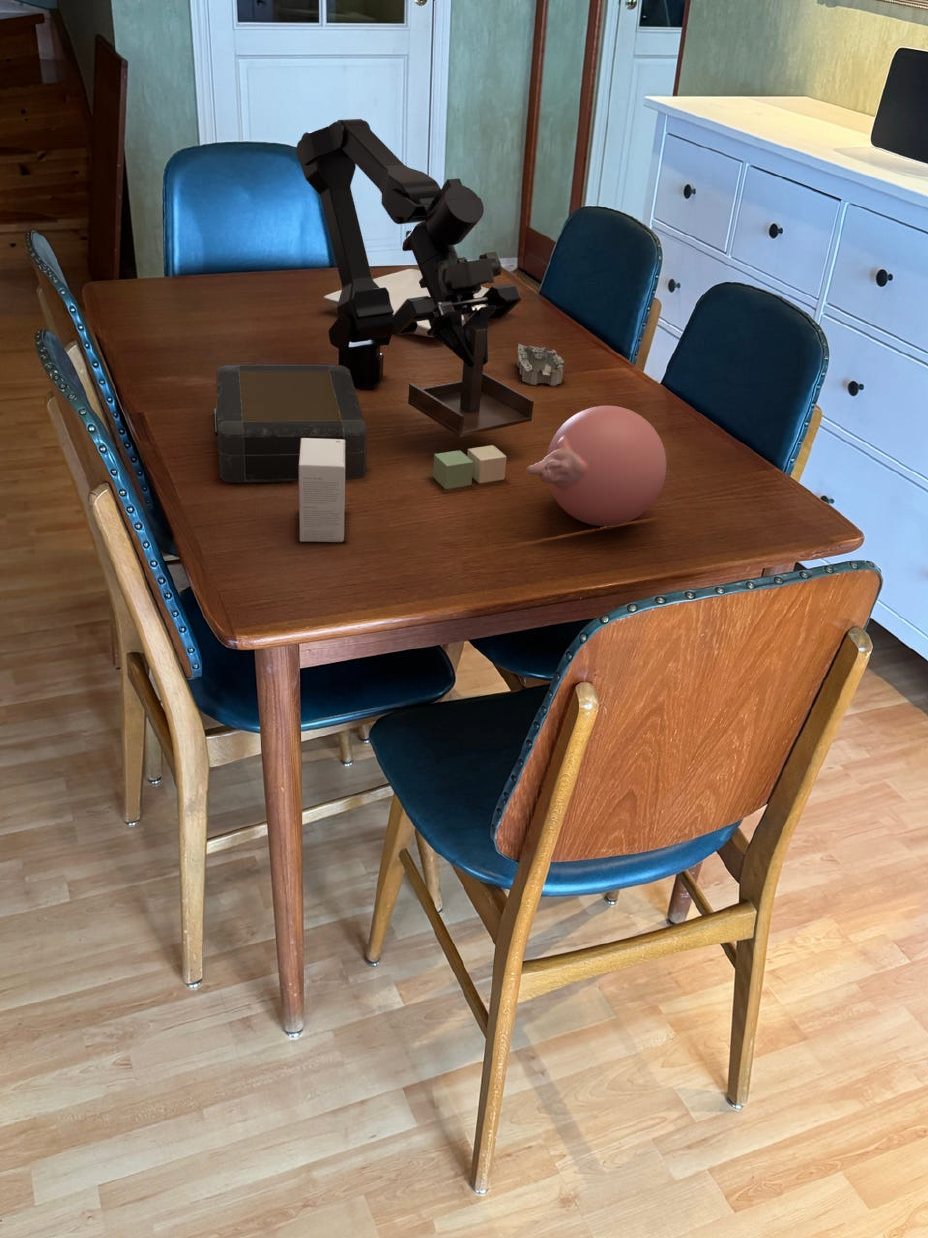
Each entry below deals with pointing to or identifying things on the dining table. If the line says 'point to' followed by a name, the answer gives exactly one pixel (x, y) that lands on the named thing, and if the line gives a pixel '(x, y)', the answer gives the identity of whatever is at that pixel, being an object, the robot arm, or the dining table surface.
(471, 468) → the sage block
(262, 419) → the cash box
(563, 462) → the balloon
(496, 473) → the cream block
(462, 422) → the brown tray with post
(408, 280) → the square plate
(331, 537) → the small box
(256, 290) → the dining table surface
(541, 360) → the grey castle model
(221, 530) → the dining table surface
